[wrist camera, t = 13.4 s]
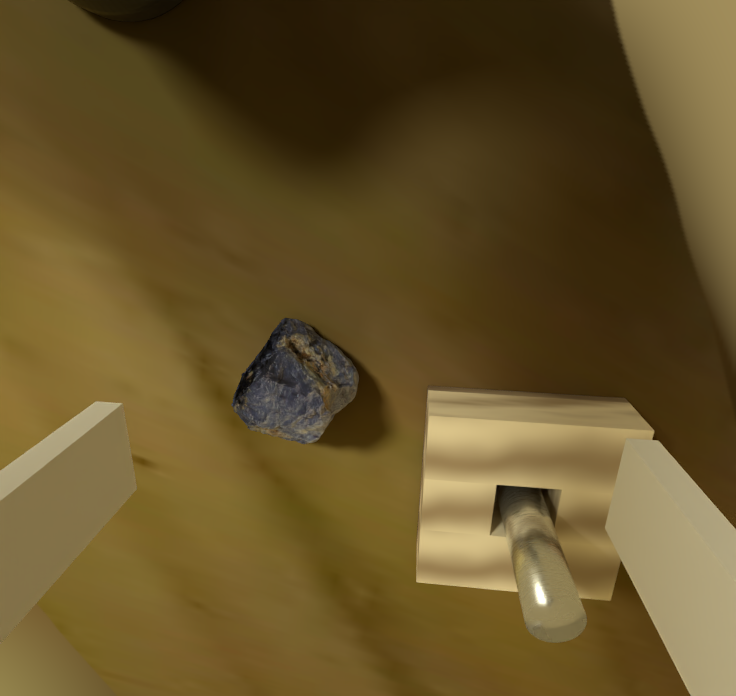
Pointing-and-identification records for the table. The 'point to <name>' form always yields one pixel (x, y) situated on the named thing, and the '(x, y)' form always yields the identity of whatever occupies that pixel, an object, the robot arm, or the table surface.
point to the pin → (540, 566)
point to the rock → (295, 384)
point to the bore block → (519, 481)
